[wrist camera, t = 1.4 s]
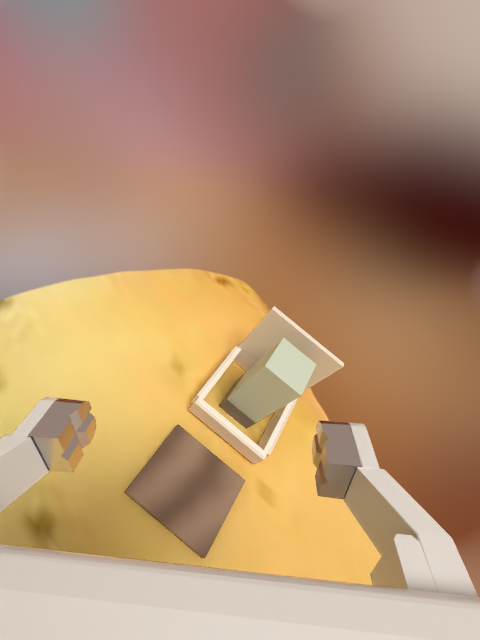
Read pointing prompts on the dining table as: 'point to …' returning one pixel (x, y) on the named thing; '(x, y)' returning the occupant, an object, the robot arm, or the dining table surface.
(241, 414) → the sage box
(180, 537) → the walnut board
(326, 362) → the white backed tray
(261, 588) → the robot arm
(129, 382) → the dining table surface
